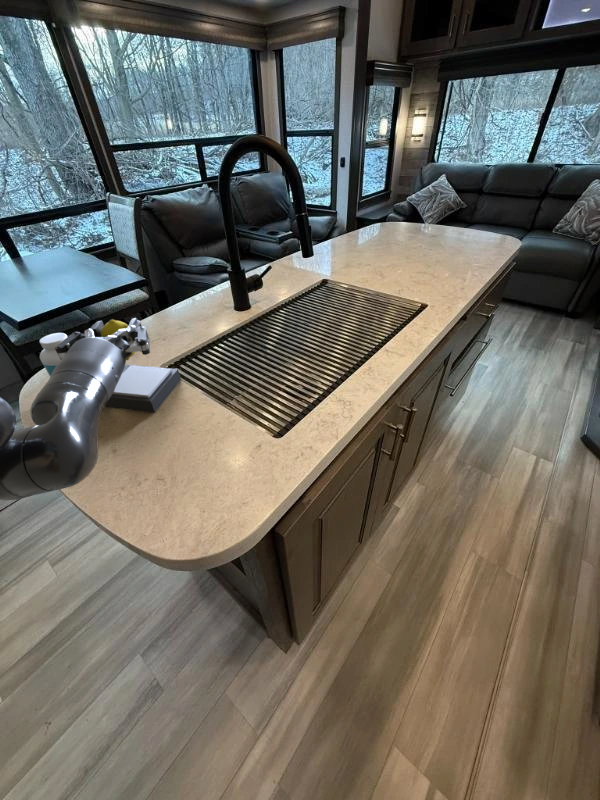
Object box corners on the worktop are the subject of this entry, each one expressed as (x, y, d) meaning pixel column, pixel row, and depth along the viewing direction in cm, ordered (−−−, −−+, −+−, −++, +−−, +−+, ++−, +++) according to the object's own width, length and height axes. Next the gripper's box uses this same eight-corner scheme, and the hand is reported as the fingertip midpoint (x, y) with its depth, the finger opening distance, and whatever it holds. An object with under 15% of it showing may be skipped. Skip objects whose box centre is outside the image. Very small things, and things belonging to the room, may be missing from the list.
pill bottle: (106, 389, 75) (81, 335, 67) (74, 406, 70) (43, 350, 62) (88, 379, 78) (61, 326, 70) (56, 395, 73) (23, 340, 65)
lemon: (148, 355, 63) (135, 315, 59) (128, 370, 59) (112, 328, 54) (125, 350, 65) (111, 311, 60) (104, 364, 61) (86, 324, 56)
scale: (94, 406, 70) (87, 392, 68) (126, 374, 79) (121, 361, 77) (155, 412, 68) (149, 399, 66) (181, 379, 77) (177, 366, 75)
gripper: (133, 346, 46) (154, 301, 59) (20, 356, 44) (68, 307, 57) (149, 389, 51) (165, 339, 64) (47, 401, 49) (85, 346, 62)
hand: (119, 324), depth 60 cm, fingers closed on lemon, 5 cm apart
